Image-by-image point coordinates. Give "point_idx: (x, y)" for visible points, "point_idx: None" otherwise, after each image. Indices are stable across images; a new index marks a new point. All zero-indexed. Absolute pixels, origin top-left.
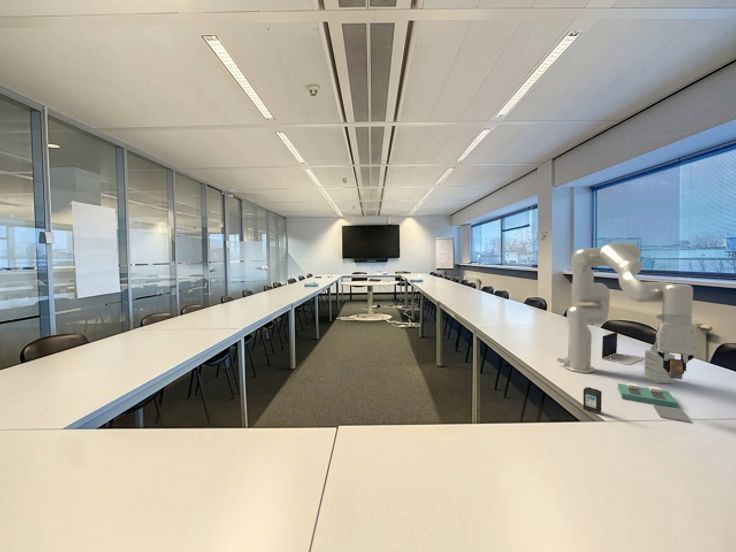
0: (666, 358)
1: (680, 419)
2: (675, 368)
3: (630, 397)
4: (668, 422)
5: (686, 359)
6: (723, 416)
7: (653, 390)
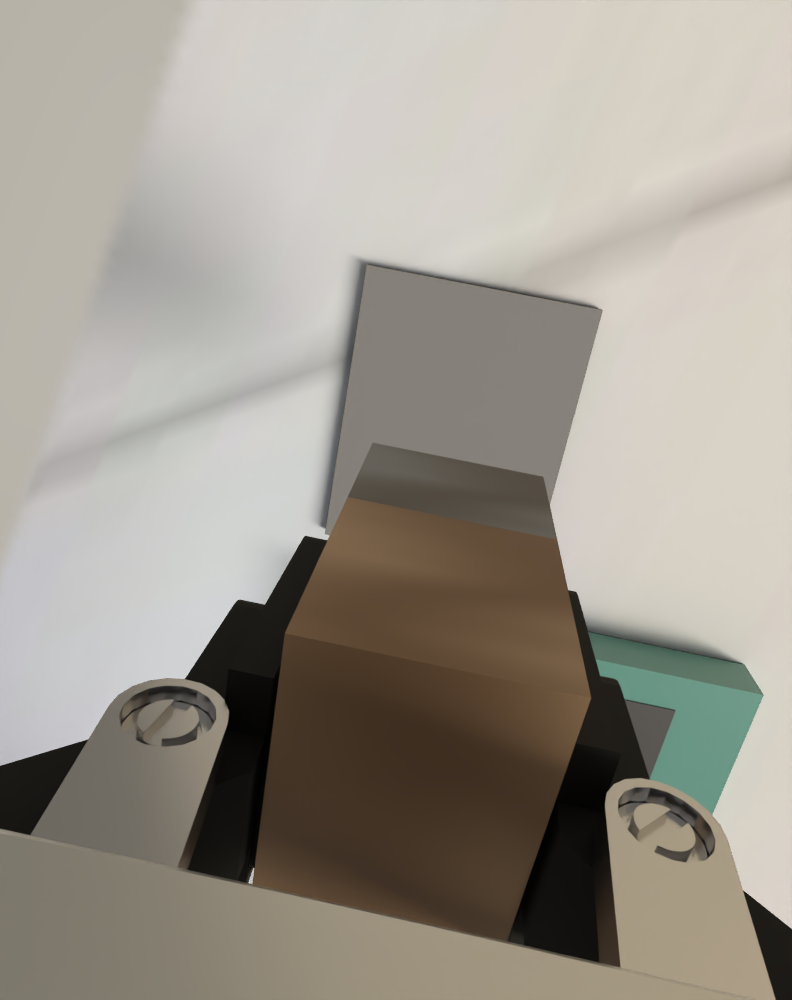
0: (653, 843)
1: (445, 290)
2: (469, 556)
3: (687, 665)
4: (583, 200)
5: (127, 753)
6: (56, 511)
7: None
